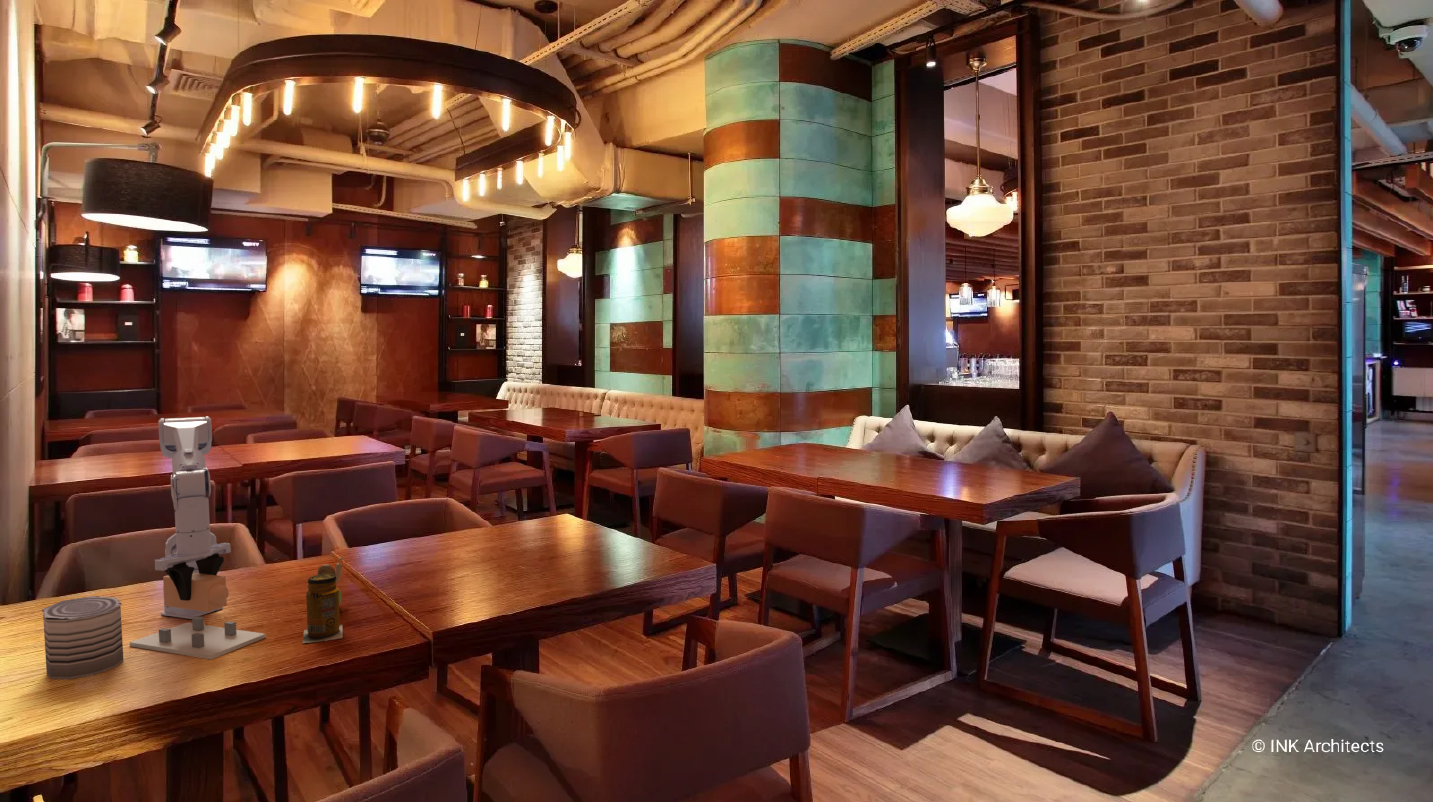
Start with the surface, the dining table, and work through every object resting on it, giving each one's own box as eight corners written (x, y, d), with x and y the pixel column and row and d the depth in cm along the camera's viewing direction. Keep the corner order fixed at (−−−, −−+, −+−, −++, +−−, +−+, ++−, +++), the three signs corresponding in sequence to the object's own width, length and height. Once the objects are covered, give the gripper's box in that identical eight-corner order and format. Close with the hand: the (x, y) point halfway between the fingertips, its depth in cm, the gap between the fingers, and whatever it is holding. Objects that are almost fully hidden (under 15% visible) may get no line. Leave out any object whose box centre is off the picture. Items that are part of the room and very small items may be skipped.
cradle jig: (129, 645, 157) (128, 629, 156) (187, 625, 168) (186, 610, 168) (210, 659, 149) (210, 642, 149) (265, 637, 161) (264, 621, 161)
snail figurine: (335, 614, 175) (333, 561, 174) (309, 612, 176) (307, 560, 175) (351, 606, 180) (349, 555, 179) (326, 604, 181) (324, 553, 181)
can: (114, 650, 154) (111, 591, 153) (131, 665, 147) (128, 602, 146) (39, 669, 145) (35, 605, 145) (53, 685, 138) (49, 618, 137)
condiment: (342, 625, 168) (340, 570, 167) (342, 638, 160) (340, 580, 159) (303, 631, 165) (301, 574, 164) (302, 644, 157) (300, 585, 156)
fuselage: (164, 605, 158) (163, 576, 158) (183, 599, 162) (182, 571, 162) (215, 612, 154) (214, 582, 153) (234, 606, 158) (232, 577, 157)
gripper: (171, 539, 149) (175, 609, 150) (240, 523, 163) (243, 587, 164) (145, 536, 151) (149, 605, 152) (215, 521, 165) (218, 584, 166)
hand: (196, 596), depth 158 cm, fingers closed on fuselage, 4 cm apart
